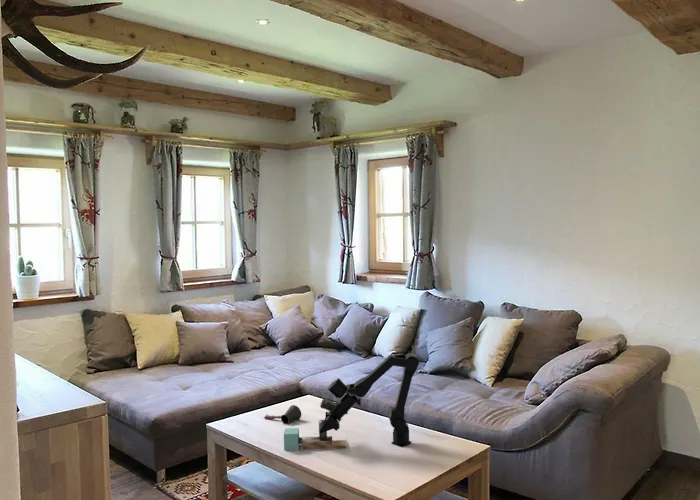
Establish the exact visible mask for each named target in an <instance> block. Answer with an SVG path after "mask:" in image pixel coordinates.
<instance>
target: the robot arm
mask: <svg viewBox="0 0 700 500" xmlns="http://www.w3.org/2000/svg"><path fill="white" fill-rule="evenodd" d="M416 355H417V354H415V353H412V352H408V353H406V354H389V355H388V356H386V358H385V359H384V360H383V361H382V362H381V363H380V364H378V365H377V366H376V367H375V368H374V369H373V370H372V371H371V372H369V373H368V374H367V375H365V376H364V377H361V378H360V379H358V380H357V381H355V382H354V383H348V384H345V383H344V382H343V381H342V379H341V378H339V377H337V378H336V379H335V380H334V381H332V382H331V383H330V384H329V386H328V387H327V390H328V391H329V392H330V393H331V394H332V395H333V396H334V397H335V398H336V399H340V400H337V401H335V402H334V401H333V400H330V399H327V398H325V397H323V398H322V400H321V402H320V406H319V407H320V408H321V409H324V410H326V411H325V418H324V419H323V420H325V423H324V425H323V426H322V428H321V429H320V431H319V430H318V434H319V433H320V434H321V433H323V432H326V431H327V432H328V431H331V430H334V431H335V432H337V431H339V429H340V427H341V426H340V422H341V421H342V419H343V417H344V416H346V415H348V413H349V411H350V410H351V409H352V408H353V407H354V406H355V404H357V405H358V406H361V401H362V398H364V397H365V396H366V395H367V394H368V392H369V391H370V390H371V388H372V387H373V385H374V384H375V383H376V382H377V381H378V380H379V379H380V378H381V377H382V376H383V375H385V374H386V373H387V372H388V371H389V370H390V369H392V367H401V368H403V369H402V370H403V371H402V375H401V376H402V377H401V382H400V386H399V388H398V393H397V396H396V397H397V398H396V401H395V404H394V405H393V406H390V407H389V412H388V414H387V415H388V420H389V422H390V425H391V427H393V429H392V430H393V431H392V441H391V444H392V445H395V446H398V447H401V448H404V447H406V446H408V445H410V444H412V441H410V430H409V429H410V428H409V424H408V422H407V420H406V419H405V406H406V403H407V400H408V394H409V391H410V387H411V383H412V380H413V376H414V374H415V373H416V372H417V369H418V367H419V365H420V360H419V359H418V357H417V356H416Z"/></svg>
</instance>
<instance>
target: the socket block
mask: <svg viewBox="0 0 700 500" xmlns="http://www.w3.org/2000/svg"><path fill="white" fill-rule="evenodd" d="M298 437H300V427H288V428H284V431H283V451H299V445H300V444H298Z"/></svg>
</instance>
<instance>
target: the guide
mask: <svg viewBox="0 0 700 500" xmlns="http://www.w3.org/2000/svg"><path fill="white" fill-rule="evenodd" d="M332 449H333V450H334V449H335V450H336V449H337V450H339V449H347V440H346V439H341V440H340V439H338V440H337V439H335V440H334V439H333V436H332V435H330V436H328V435H327V441H305V442H302V444H301V451H305V450H332Z"/></svg>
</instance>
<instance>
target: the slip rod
mask: <svg viewBox="0 0 700 500" xmlns="http://www.w3.org/2000/svg"><path fill="white" fill-rule="evenodd" d="M324 423H325V420H324V419H320V420H318V436H302V437H300V436H299V437H298V444H299V445H302V442H305V441H327V436H328V431H326V432H323V433H321V434H320V433H319V431H320V429H321V428H322V426H323V425H324Z"/></svg>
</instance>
